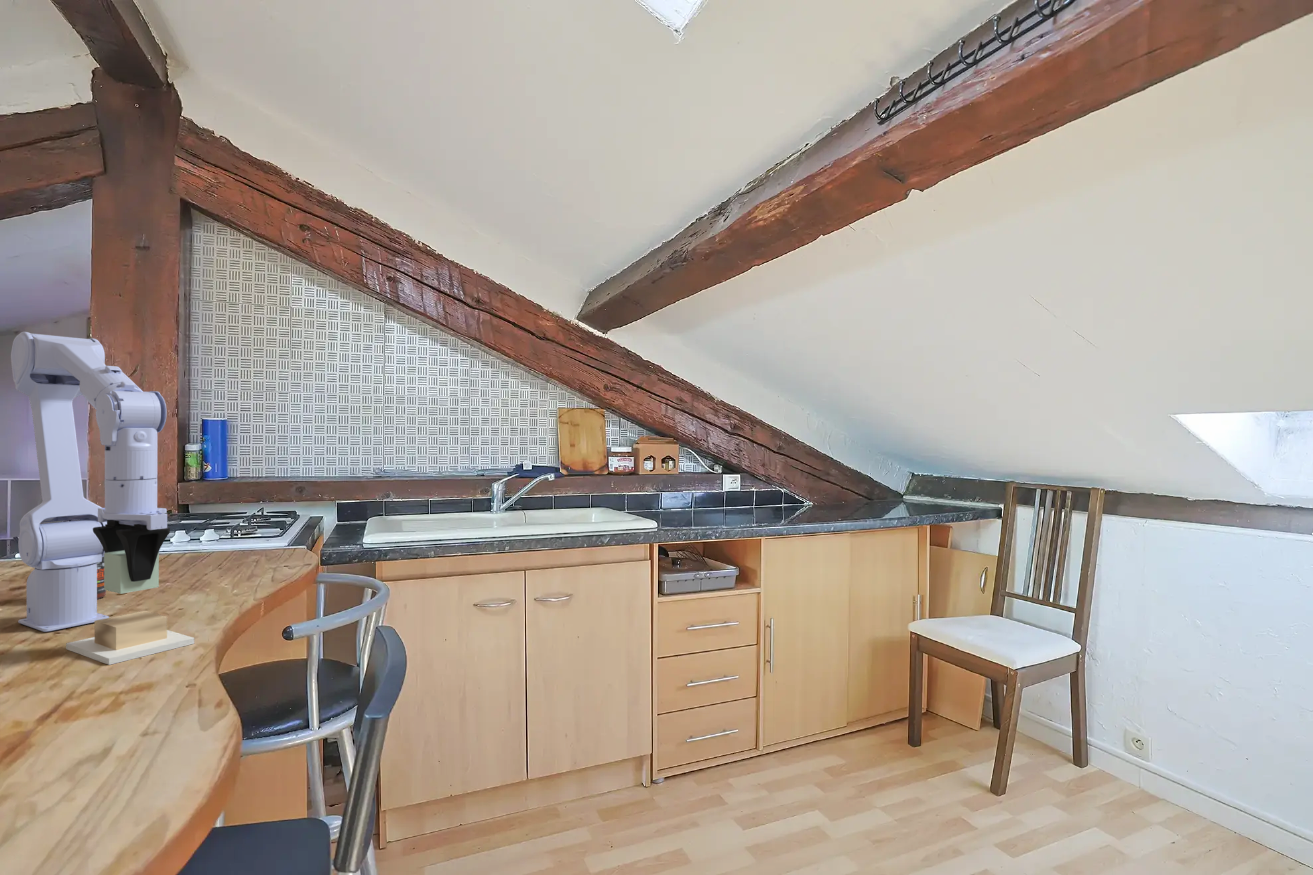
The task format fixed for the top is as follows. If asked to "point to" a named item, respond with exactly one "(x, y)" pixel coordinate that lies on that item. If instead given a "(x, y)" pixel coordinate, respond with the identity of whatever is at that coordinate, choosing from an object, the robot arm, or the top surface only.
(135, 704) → the top surface
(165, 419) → the robot arm
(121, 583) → the sage block
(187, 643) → the build base
